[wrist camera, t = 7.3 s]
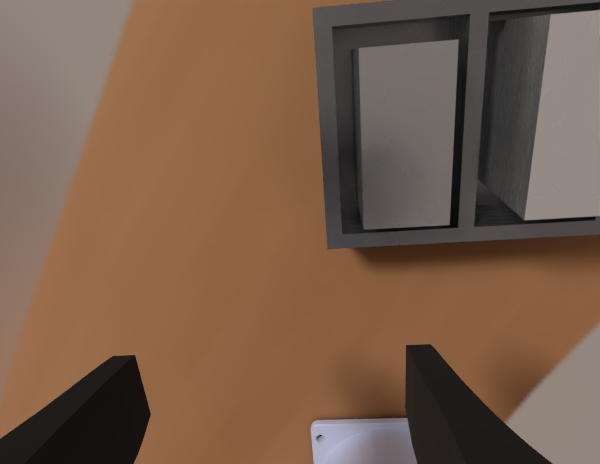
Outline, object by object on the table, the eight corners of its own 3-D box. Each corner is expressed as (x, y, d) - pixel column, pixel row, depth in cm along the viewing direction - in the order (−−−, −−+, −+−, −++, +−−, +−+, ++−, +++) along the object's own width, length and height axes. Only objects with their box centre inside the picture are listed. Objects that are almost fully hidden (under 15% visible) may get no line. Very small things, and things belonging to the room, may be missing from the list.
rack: (573, 208, 20) (640, 249, 15) (326, 222, 20) (328, 265, 16) (607, -12, 16) (705, -35, 12) (314, 15, 17) (311, 3, 13)
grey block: (547, 172, 19) (621, 214, 14) (475, 176, 19) (524, 220, 14) (570, 14, 16) (668, 3, 12) (487, 21, 16) (550, 14, 12)
